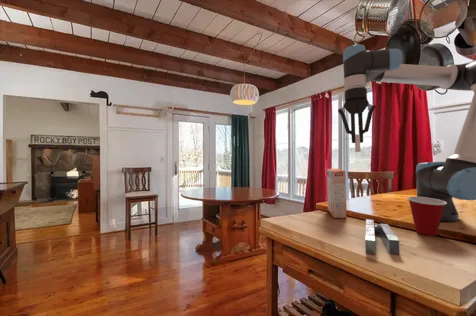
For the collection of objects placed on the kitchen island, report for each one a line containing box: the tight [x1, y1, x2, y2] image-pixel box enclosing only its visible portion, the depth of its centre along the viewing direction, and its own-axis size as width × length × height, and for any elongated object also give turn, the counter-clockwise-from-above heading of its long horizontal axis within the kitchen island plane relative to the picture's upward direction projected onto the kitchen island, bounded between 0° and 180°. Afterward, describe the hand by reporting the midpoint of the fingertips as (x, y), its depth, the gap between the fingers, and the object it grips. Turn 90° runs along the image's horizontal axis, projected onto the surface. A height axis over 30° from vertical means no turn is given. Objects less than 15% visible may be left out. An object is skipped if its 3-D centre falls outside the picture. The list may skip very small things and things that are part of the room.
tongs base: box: [374, 223, 400, 256], centre depth 79 cm, size 5×20×4 cm, turn 158°
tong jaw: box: [364, 218, 377, 254], centre depth 80 cm, size 2×22×4 cm, turn 152°
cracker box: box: [326, 168, 347, 219], centre depth 113 cm, size 14×6×21 cm, turn 168°
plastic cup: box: [407, 196, 447, 237], centre depth 84 cm, size 11×11×12 cm
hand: (357, 151), depth 92 cm, fingers closed
